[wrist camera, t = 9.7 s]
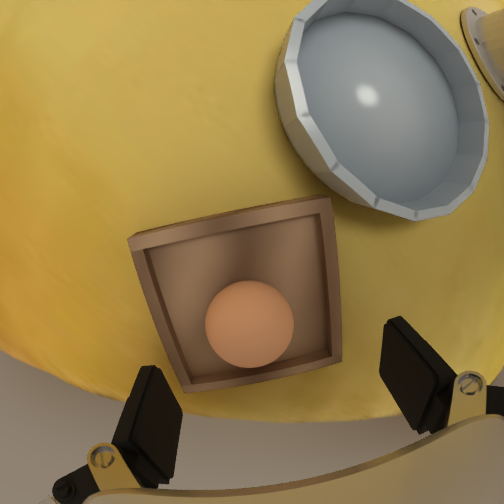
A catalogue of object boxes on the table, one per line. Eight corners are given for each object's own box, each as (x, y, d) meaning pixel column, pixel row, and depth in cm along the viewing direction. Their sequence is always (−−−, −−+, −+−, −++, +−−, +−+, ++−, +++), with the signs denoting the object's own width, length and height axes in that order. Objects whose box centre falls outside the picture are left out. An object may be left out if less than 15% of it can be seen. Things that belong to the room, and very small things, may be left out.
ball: (279, 260, 17) (297, 295, 12) (289, 328, 18) (306, 375, 14) (199, 276, 17) (188, 316, 12) (218, 341, 18) (215, 391, 14)
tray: (320, 194, 17) (330, 197, 15) (334, 348, 20) (342, 361, 19) (136, 232, 17) (127, 239, 15) (186, 378, 20) (184, 393, 18)
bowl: (427, 29, 14) (454, 15, 10) (463, 197, 18) (496, 204, 14) (252, 11, 13) (259, -22, 9) (298, 227, 17) (317, 242, 14)
